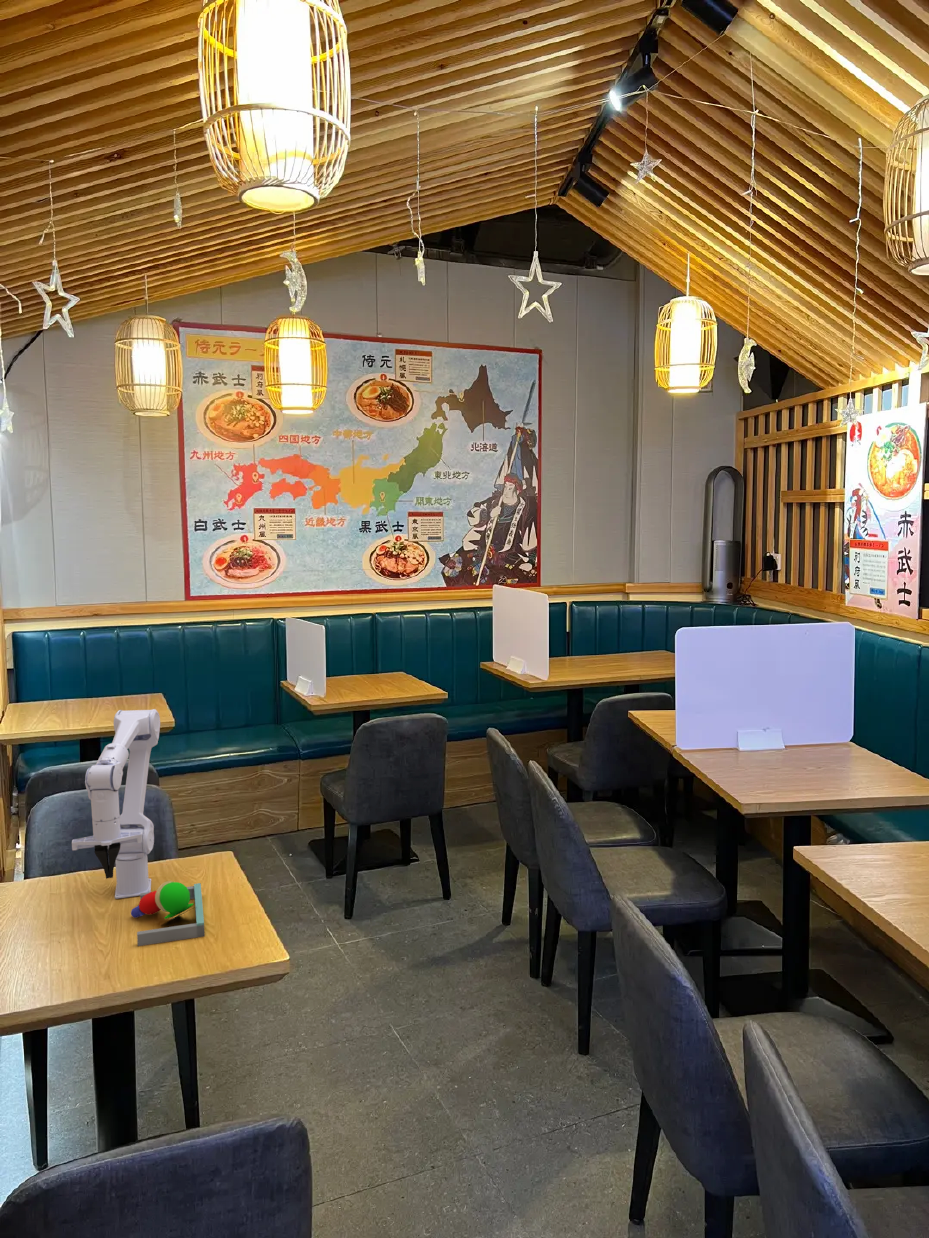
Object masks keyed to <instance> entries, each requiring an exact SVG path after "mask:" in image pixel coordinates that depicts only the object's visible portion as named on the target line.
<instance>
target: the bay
mask: <svg viewBox="0 0 929 1238" xmlns="http://www.w3.org/2000/svg"><path fill="white" fill-rule="evenodd" d="M186 887H187V889H188V890H189V893H190V900H194V907H195V908H194V909H195V920H196V922H195V923H189V924H182V925H174V926H169V927H167V926H166V927H161V928H160V927H159V928H153V929H148V930H141V931H137V932H136V939H137V941H136V942H137V947H142V946H149V945H157V944H161V943H169V942H175V941H180V940H181V941H182V940H188V939H189V940H190V939H194V938H195V939H196V938H201V937H205V935H206V934H205V920H204V919H205V918H204V916H205V915H204V907H203V906H204V905H203V895H202V885H201V883H199V882H198V883H194V884H193V885H191V886H186ZM148 893H150V892H146V893H140V896H139V898H140V899H139V901H140V900H141V898H142V897H143V896H145V895H146V894H148Z"/></svg>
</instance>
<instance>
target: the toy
mask: <svg viewBox="0 0 929 1238" xmlns="http://www.w3.org/2000/svg"><path fill="white" fill-rule="evenodd" d="M187 887H188V886H186V885H184V884H183V883H182V882H178V881H171V880H169V881H164V882H163V883H162V884H160V886H158V888H157V890H153V891H151V892H150V893H148V894H146V895H145V896H143V897H142V898H141V900H140V899H139V903H138V905H137V906H135V907H133V908H132V909H131V911H130V915H131V917H133V918H136V919H137V918H140V917H142V916H144V915H147V916H148V915H150V916H151V915H155V914H156V913H158V912H160V911H162V912H165V913H168V914H167V915H165V917H164V920H166V919H169V920H168V922H170V921H172V920H174V919H176V918H178V917H180V916H182V915H183V914H185V913H187V912H188V911H191V910H192V909H195V902H194V903H190V901H191V899H190V893H189V890H188V889H187ZM193 906H194V907H193ZM192 907H193V908H192ZM170 918H171V919H170Z"/></svg>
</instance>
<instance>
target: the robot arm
mask: <svg viewBox="0 0 929 1238" xmlns="http://www.w3.org/2000/svg"><path fill="white" fill-rule="evenodd" d="M160 729H161V716H160V713H159V712H158V710H157V709H156V708H153V709H137V710H136V709H134V710H133V709H132V710H123V709H119V710H118V711H116V713H115V714H114V718H113V730H114V733H115V734H114V737H113V740H112V742H111V743H108V744H107V745H105V746H104V748H103V750H102V752H101V754H100V756H99V757H98V760H97V761H96V763H95V764H93V765H91V766H90V767H88V768H87V770H86V771H85V778H84V779H85V781H84V784H85V788H86V791H87V796H88V800H90V804H91V806H90V807H91V819H92V821H91V822H92V834H93V835H89V836H85V837H80V838H74V839H72V840H71V850H72V851H78V850H79V849H80V850H81V849H89V848H90V849H91V848H94V851H93V852H94V855H95V856H96V857H97V858H98V861H99V862H100V864H101V866H102V869H103V871H104V875H105V879H113V878H114V869H115V874H116V886H115V891H114V899H124V898H132V897H138V896H139V897H140V893H146V892H152V891H151V890H152V889H151V888H152V878H149V863H148V855H149V854H150V853H151V851H153V849H154V845H155V844H154V843H155V834H154V832H155V831H154V828H155V827H154V826H155V824H154V823H153V821H152V820H151V819H150V818H148V817H147V816H146V815H145V814H144V812H145V811H144V809H145V808H144V807H145V800H146V792H147V784H148V774H149V764H150V759H151V758H150V757H151V753H152V752H151V751H152V748H153V747H155V746H157V745H158V743H159V742H158V741H159V738H160ZM127 761H128V765H127V771H126V772H127V773H126V780H125V786H124V787H125V789H124V796H123V804H122V813H121V814H120V799H119V798H120V796H119V790H120V788H121V786H122V779H123V775H124V771H123V770H124V767H125V765H126V763H127ZM114 867H115V868H114Z"/></svg>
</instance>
